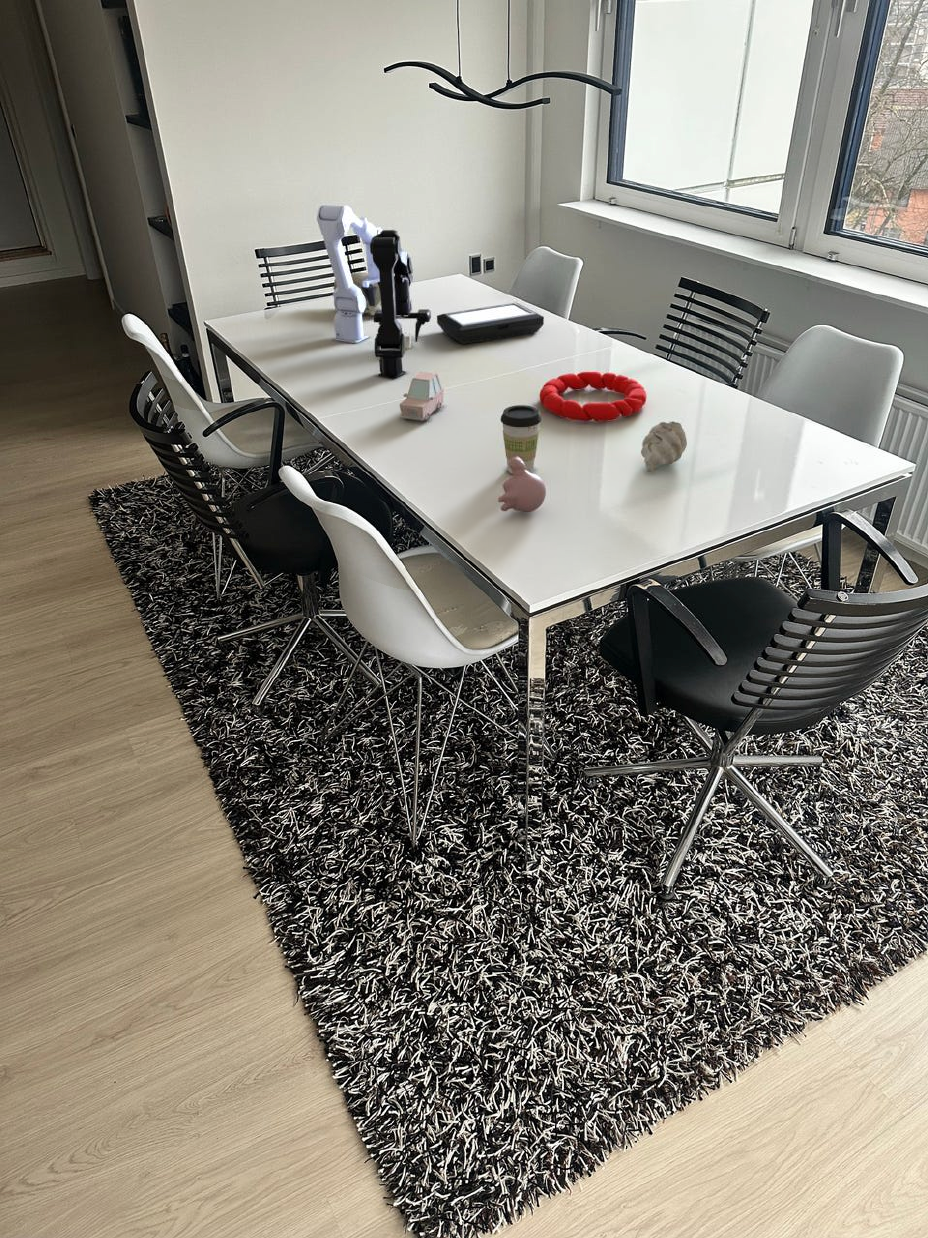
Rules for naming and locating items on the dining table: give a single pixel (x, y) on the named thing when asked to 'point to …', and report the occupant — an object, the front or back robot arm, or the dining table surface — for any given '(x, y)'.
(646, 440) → the seashell
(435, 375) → the toy car
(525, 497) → the figurine
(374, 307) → the animal skull
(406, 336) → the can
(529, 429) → the coffee cup
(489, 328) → the electronic device
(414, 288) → the dining table surface
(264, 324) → the dining table surface
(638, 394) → the decorative ring
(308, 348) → the dining table surface
